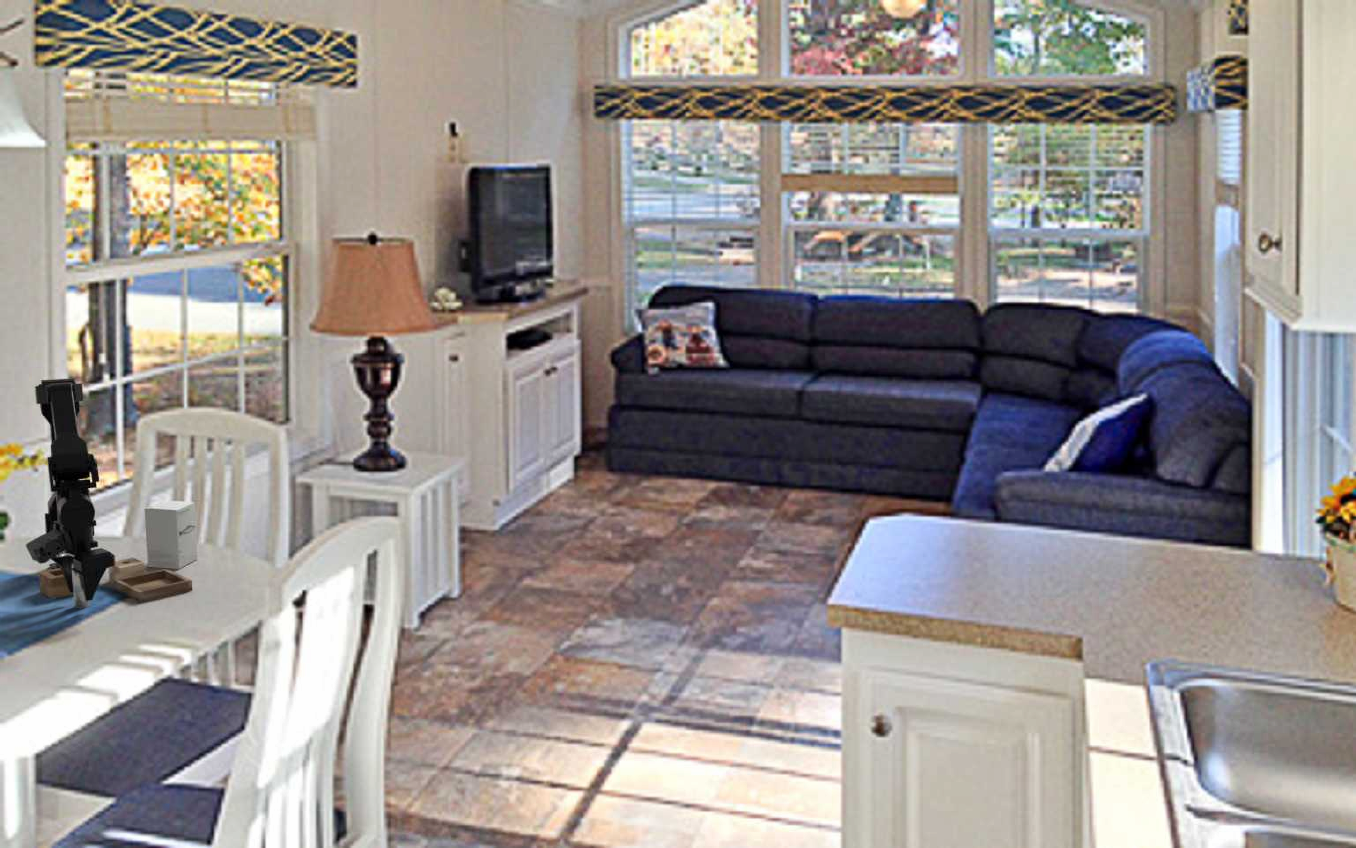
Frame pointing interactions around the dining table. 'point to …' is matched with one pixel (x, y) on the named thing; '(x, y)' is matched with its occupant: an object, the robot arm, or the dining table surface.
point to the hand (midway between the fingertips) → (80, 596)
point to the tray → (153, 585)
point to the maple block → (126, 569)
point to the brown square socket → (53, 584)
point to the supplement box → (171, 534)
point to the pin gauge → (78, 591)
